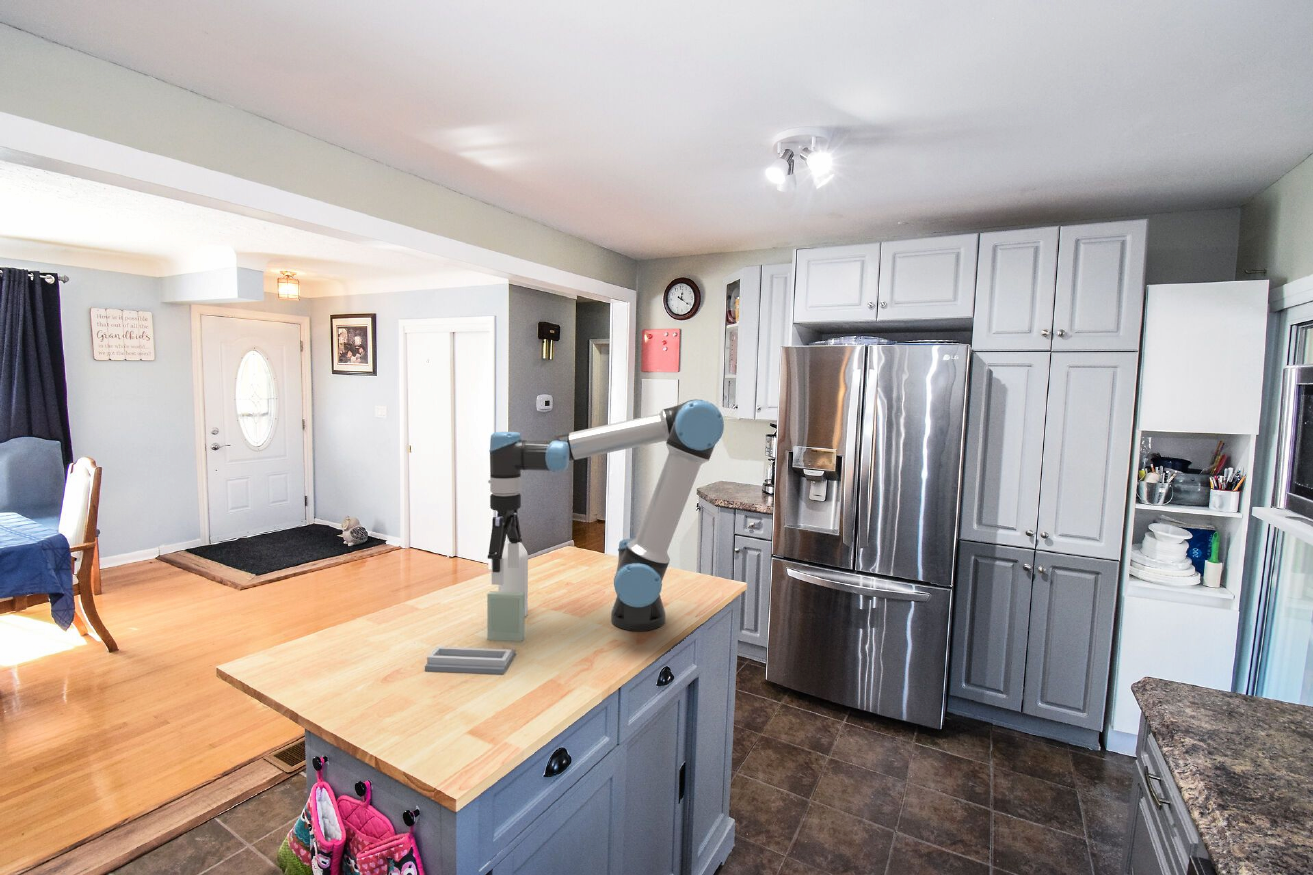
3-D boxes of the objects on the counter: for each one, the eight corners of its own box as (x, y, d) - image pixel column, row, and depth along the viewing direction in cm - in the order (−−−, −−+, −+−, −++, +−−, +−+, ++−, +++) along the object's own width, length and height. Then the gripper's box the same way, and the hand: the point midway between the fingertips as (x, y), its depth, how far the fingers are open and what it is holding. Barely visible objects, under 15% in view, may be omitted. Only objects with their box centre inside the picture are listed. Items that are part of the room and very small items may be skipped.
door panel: (524, 637, 155) (524, 592, 154) (522, 641, 153) (522, 595, 152) (490, 635, 155) (490, 590, 154) (487, 639, 153) (487, 594, 152)
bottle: (506, 622, 164) (506, 514, 162) (493, 613, 170) (493, 509, 168) (532, 615, 169) (533, 511, 167) (519, 607, 175) (519, 506, 173)
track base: (515, 654, 145) (515, 643, 145) (503, 674, 135) (503, 662, 135) (442, 651, 146) (442, 640, 145) (424, 670, 136) (424, 659, 136)
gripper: (505, 484, 163) (505, 560, 165) (473, 502, 139) (474, 591, 140) (532, 485, 163) (532, 561, 165) (505, 503, 138) (505, 592, 140)
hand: (505, 575), depth 153 cm, fingers open, 13 cm apart
